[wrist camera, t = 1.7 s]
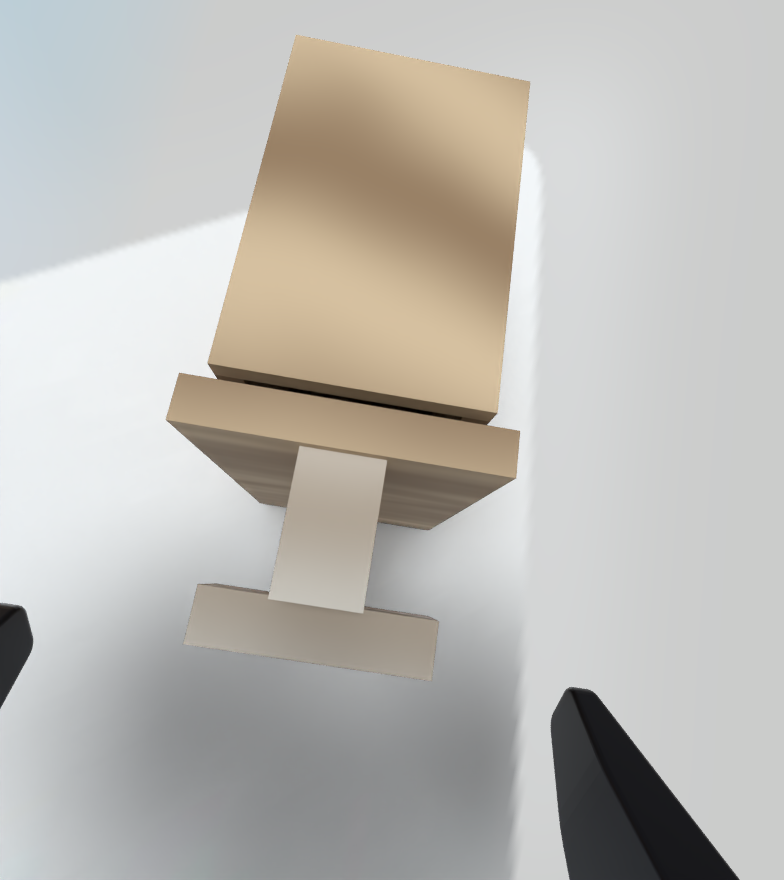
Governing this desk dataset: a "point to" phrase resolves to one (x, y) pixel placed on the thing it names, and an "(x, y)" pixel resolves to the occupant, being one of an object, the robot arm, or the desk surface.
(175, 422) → the flap
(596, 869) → the robot arm
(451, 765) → the desk surface
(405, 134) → the carton
